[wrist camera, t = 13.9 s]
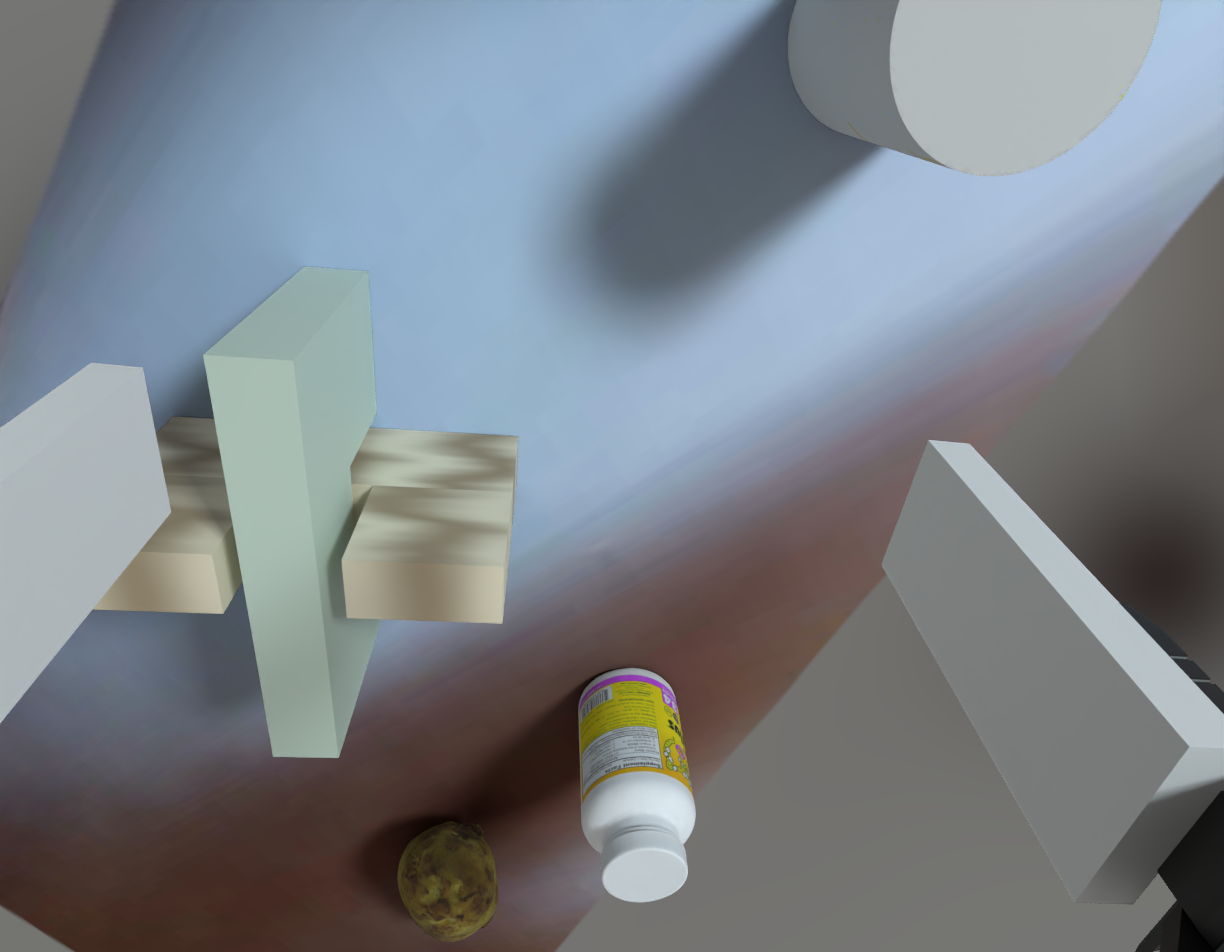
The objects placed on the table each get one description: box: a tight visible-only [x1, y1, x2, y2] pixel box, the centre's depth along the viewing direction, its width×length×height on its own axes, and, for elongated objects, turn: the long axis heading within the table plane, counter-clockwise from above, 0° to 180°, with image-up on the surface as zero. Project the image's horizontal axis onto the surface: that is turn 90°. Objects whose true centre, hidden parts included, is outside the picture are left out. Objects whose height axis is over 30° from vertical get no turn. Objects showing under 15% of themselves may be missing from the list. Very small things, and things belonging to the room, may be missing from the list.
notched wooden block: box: [93, 416, 518, 623], centre depth 37 cm, size 18×3×12 cm, turn 85°
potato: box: [397, 821, 498, 942], centre depth 55 cm, size 8×13×8 cm, turn 152°
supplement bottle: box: [578, 668, 696, 902], centre depth 47 cm, size 7×7×13 cm
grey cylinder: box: [788, 0, 1162, 176], centre depth 28 cm, size 8×8×12 cm
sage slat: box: [203, 266, 382, 758], centre depth 37 cm, size 20×3×12 cm, turn 175°
